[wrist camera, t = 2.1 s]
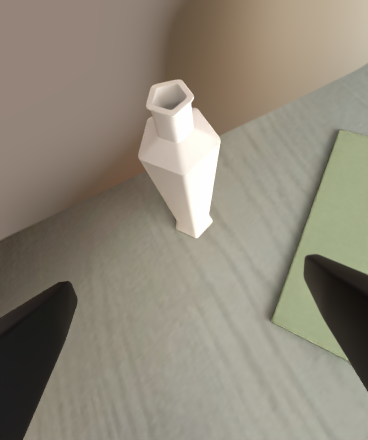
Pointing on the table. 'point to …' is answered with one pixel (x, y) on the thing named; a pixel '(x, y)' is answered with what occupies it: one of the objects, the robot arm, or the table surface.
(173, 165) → the perfume bottle
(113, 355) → the table surface
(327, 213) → the mat
